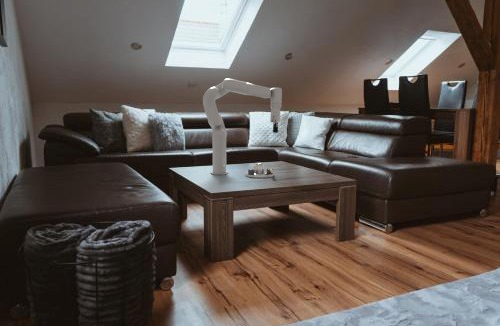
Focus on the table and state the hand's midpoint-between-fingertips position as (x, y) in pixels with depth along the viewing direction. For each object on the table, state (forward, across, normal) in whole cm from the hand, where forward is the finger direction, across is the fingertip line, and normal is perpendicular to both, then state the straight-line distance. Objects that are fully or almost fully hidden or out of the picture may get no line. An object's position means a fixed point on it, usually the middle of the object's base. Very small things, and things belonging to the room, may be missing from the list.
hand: (275, 132), depth 279 cm
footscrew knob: (+27, +14, +1) cm, 31 cm away
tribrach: (+29, +10, -8) cm, 32 cm away
